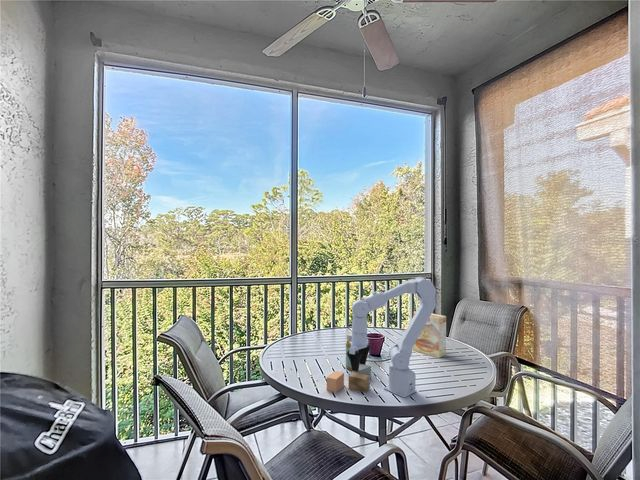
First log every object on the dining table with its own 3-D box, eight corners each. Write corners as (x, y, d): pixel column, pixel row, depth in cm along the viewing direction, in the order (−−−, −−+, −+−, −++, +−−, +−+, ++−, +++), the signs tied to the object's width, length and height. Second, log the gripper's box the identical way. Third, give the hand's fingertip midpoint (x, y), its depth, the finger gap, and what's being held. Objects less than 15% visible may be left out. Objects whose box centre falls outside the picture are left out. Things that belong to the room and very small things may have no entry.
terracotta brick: (334, 383, 134) (334, 370, 134) (343, 385, 132) (344, 372, 132) (326, 390, 128) (326, 377, 128) (336, 392, 126) (336, 379, 126)
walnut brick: (369, 388, 130) (369, 375, 130) (365, 392, 126) (365, 379, 126) (352, 384, 133) (352, 372, 133) (348, 388, 130) (348, 375, 130)
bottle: (363, 366, 152) (364, 333, 151) (357, 372, 145) (357, 337, 145) (349, 363, 155) (350, 331, 155) (343, 368, 149) (343, 334, 149)
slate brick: (363, 375, 143) (363, 363, 143) (370, 378, 140) (370, 366, 140) (352, 379, 138) (352, 367, 138) (359, 382, 135) (359, 370, 135)
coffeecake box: (412, 350, 174) (412, 312, 174) (419, 347, 179) (420, 310, 179) (438, 358, 163) (439, 317, 163) (446, 354, 168) (446, 315, 168)
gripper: (357, 326, 138) (356, 359, 138) (342, 335, 125) (341, 371, 125) (373, 328, 134) (373, 362, 135) (359, 338, 122) (359, 375, 122)
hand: (359, 367), depth 130 cm, fingers open, 7 cm apart
